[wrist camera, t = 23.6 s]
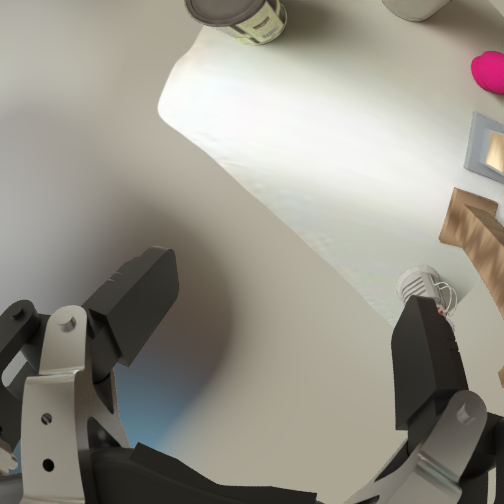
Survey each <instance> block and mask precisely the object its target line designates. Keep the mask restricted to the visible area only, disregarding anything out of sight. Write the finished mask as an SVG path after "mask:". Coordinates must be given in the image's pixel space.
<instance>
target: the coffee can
mask: <svg viewBox="0 0 504 504" xmlns="http://www.w3.org/2000/svg"><path fill="white" fill-rule="evenodd" d="M184 3H185V8H186V10H187V12H188V14H189V15H190V16H191V17H192V18H193V19H194V20H196V21H197V22H199V23H201V24H204V25H207V26H210V27H212V28H214V29H216V30H218V31H220V32H222V33H224V34H226V35H228V36H230V37H232V38H233V39H235V40H236V41H238V42H240V43H243V44H247V45H260V44H265V43H268V42H270V41H272V40H273V39H275V38H276V37H278V36H279V35H280V34H281V32H282V31H283V30H284V28H285V26H286V23H287V13H286V10H285V7H284V6H283V4H282V3H281V2H280V0H184Z"/></svg>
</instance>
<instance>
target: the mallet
mask: <svg viewBox="0 0 504 504" xmlns="http://www.w3.org/2000/svg"><path fill="white" fill-rule="evenodd" d="M486 163H487V164H489V165H491V166H492V167H494V168H496V169H498V170H499V171H501V172H503V173H504V135H501V134H498V133H495V132H491V137H490V143H489V149H488V154H487V159H486Z"/></svg>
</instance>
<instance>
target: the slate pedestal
mask: <svg viewBox="0 0 504 504" xmlns="http://www.w3.org/2000/svg"><path fill="white" fill-rule="evenodd" d="M491 132H495V133H498V134H501V135H504V125H502V124H500V123H498V122H496V121H494V120H492V119H490V118H488V117H486V116H483V115H481V114H479V113H476V112H473V117H472V124H471V131H470V138H469V143H468V149H467V154H466V159H465V164H464V168H466V169H468V170H470V171H473V172H476V173H478V174H481V175H484V176H486V177H489V178H491V179H494V180H496V181H499V182H501V183H503V184H504V173H503V172H501V171H499V170H498V169H496V168H494V167H492V166H491V165H489V164H487V163H486V159H487V154H488V149H489V143H490V137H491Z"/></svg>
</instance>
